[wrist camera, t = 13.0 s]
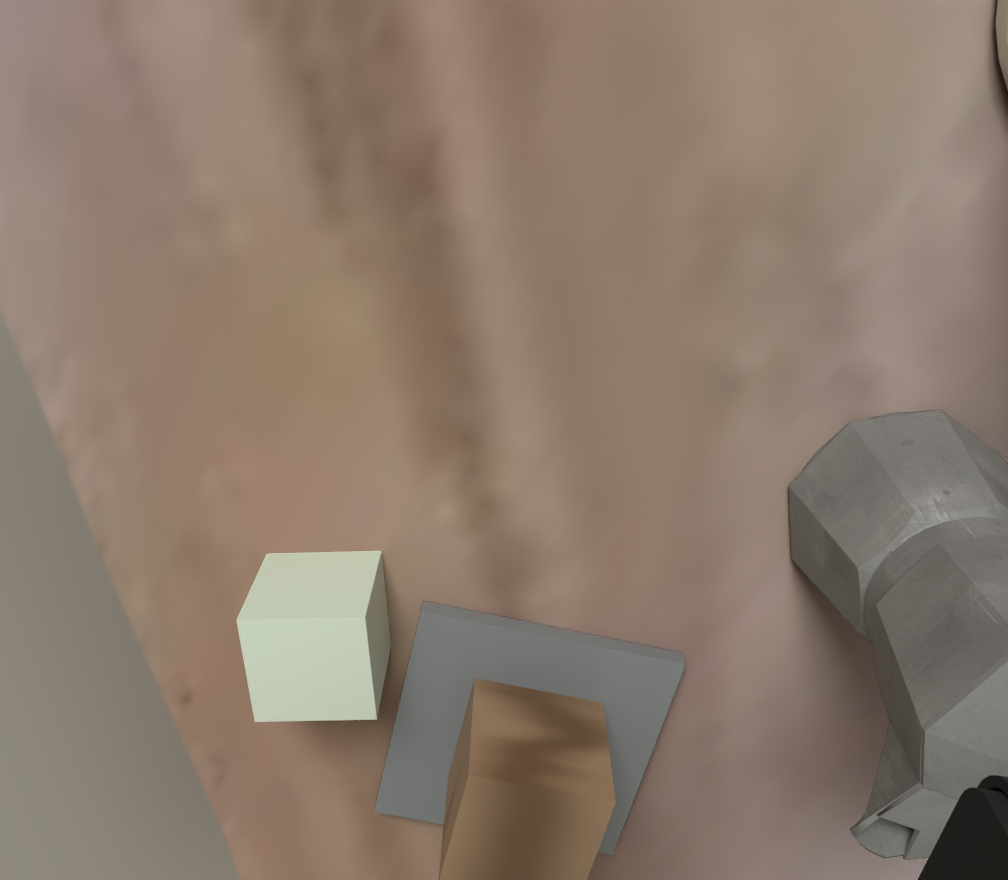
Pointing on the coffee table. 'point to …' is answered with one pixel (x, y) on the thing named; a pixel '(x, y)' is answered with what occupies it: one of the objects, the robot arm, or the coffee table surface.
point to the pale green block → (316, 636)
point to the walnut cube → (527, 787)
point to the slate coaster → (530, 664)
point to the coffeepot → (916, 605)
